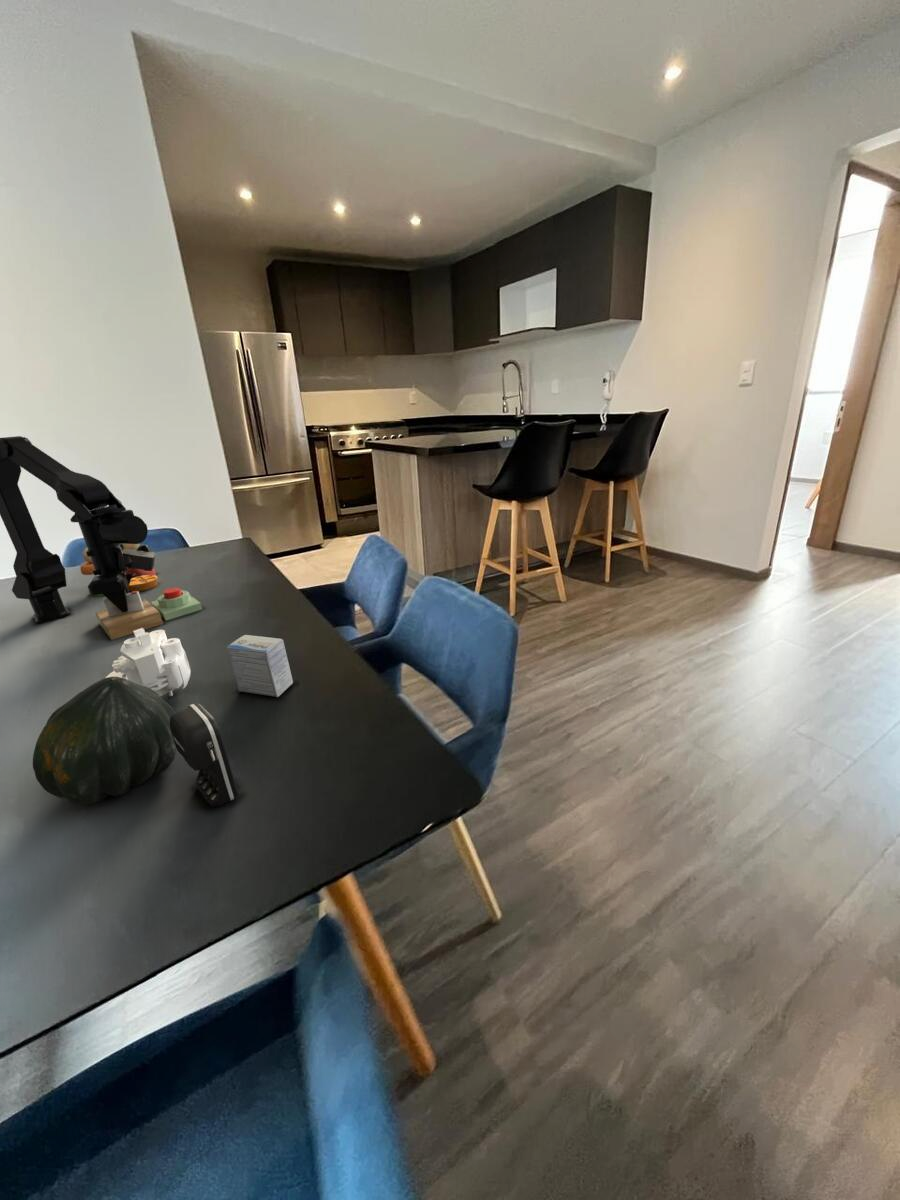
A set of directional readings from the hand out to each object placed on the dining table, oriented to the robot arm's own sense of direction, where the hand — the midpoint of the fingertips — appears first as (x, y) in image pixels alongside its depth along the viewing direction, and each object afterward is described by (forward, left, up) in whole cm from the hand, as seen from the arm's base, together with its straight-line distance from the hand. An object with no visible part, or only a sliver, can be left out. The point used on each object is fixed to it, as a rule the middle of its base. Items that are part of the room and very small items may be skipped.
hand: (125, 610), depth 109 cm
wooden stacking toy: (-32, +8, -4) cm, 33 cm away
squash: (+56, -13, -4) cm, 58 cm away
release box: (-1, +10, -4) cm, 11 cm away
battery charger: (+68, -6, -4) cm, 68 cm away
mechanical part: (+39, -5, -4) cm, 39 cm away
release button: (-1, +10, 0) cm, 10 cm away
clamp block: (0, 0, -4) cm, 4 cm away
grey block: (0, 0, 0) cm, 0 cm away
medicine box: (+50, +9, -4) cm, 51 cm away
